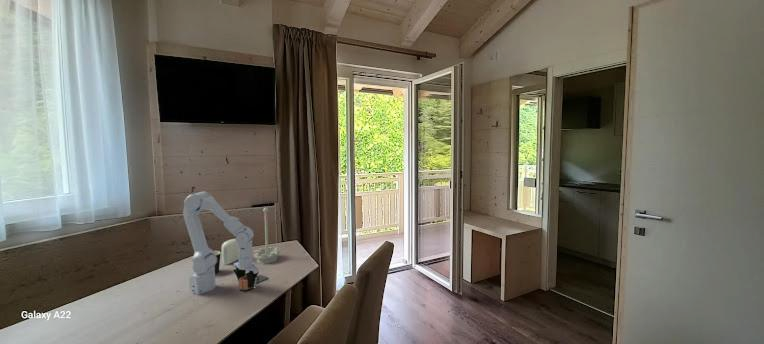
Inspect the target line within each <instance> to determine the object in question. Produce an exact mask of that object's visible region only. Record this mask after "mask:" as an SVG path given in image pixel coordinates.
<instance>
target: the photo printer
mask: <svg viewBox="0 0 764 344" xmlns="http://www.w3.org/2000/svg"><path fill="white" fill-rule="evenodd" d="M220 249H221V263H222V265H225V266H227V265H230V264H233V263H235V262H237V261H239V254H238V243H237V242H236V239H235V238H232V239H228V240H226V241H224V242H223V243H222V244H221V248H220Z"/></svg>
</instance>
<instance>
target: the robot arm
mask: <svg viewBox="0 0 764 344" xmlns="http://www.w3.org/2000/svg"><path fill="white" fill-rule="evenodd" d="M183 205H184V206H183V212H182V216H183V220H184V222H185V226H186V229H187V233H188V235H189V238H190V242H191V245H192V249H193V252H194V254H193V256H192V259H191V260H192V270H193V272H194V274H193V275H190V277H189V293H192V294H193V295H196V296H199V295H201V294H202V295H203V294H205V293H207V292H211V291H213V290H215V288H216V274H215V264H216V263H217V257H216V255H215V254H214V253H213V251H214V250H213V249H212V248H210V247H209V246H208V243H207V242H208V241H207V239H206V236H205V232H204V229H203V226H202V222H201V219H200V215H199V214H200V212H202V211H204V210H205V211H210V212H211V213H212V214H213V215H215V216H216V217H217V218H218V219H220V221H222V222H223V227H224V228H225V229H227V231H228V232H229V233H230V234H232V235H233V236H234V237H235V238H234V239H236V242H237V243H238V254H239V259H238V261H234V262H233V267H234V268H235V269H233V273H234V274H235V277H236V278H237V281H238V282H239V278H240V277H243V276H246V277H247V280H248V287H249V288H251V287H254V285H255V284H254V283H255V279H256V277H257V275H258V273H259V274H260V271H259V270H260V268H259V267H257V265H256V266H255V262H254V261H253V260H254V259H253V257H254V256H253V255H254V254H253V253H254V252H253V238H254V235H255V234H254V230H253V229H252V228H251V227H248V226H247V225H244V224H243V223H242V222H241V221H240V218H238V217H236V216H232V215H229V214H228V212H227V211H226V210H225V209H224V208H223V206H221V205H220V204H219V203H218V202H217V201H216V200H215V197H214V196H213V195H211V194H210V192H208V191H205V190H202V191H199V192H196V193H191V194H189V195H188V196H187V197H186V198H185V199H184V200H183Z"/></svg>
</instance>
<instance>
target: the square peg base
mask: <svg viewBox="0 0 764 344" xmlns="http://www.w3.org/2000/svg"><path fill="white" fill-rule="evenodd" d="M268 279H269V277H268V276H265V275H262V274H260V272H259V273H258V275H257V277H256V279H255V283H254V285H257V284H260V283H262V282H265V281H266V280H268Z"/></svg>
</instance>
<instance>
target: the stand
mask: <svg viewBox="0 0 764 344" xmlns="http://www.w3.org/2000/svg"><path fill="white" fill-rule="evenodd" d="M258 287H259V286H258V285H257V284H254V287H253V288H250V289H247V290H241V289H239V286H238V287H236V288H235V290H237V291H238V292H243V293H244V294H245V293H247V292H250V291H252V290H254V289H257V288H258Z"/></svg>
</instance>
